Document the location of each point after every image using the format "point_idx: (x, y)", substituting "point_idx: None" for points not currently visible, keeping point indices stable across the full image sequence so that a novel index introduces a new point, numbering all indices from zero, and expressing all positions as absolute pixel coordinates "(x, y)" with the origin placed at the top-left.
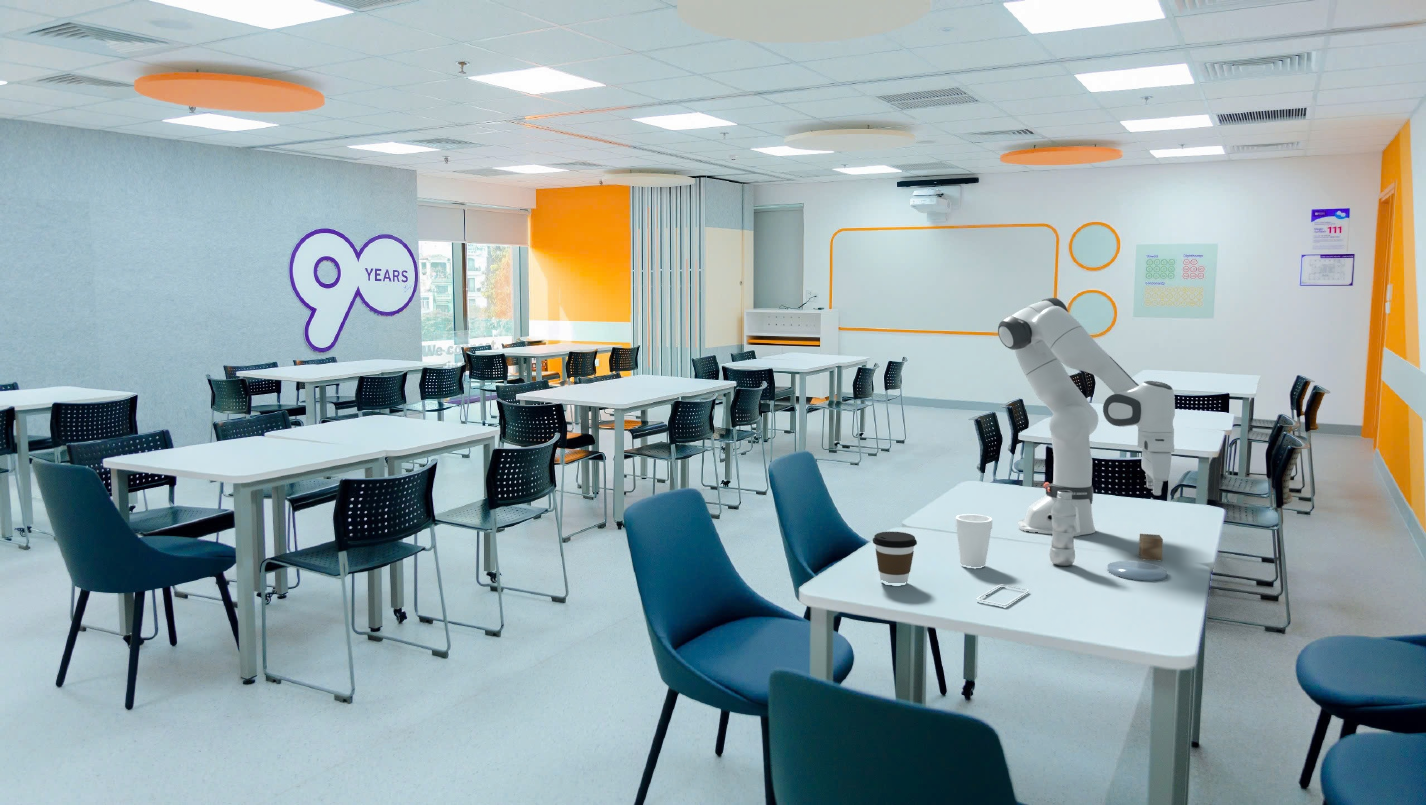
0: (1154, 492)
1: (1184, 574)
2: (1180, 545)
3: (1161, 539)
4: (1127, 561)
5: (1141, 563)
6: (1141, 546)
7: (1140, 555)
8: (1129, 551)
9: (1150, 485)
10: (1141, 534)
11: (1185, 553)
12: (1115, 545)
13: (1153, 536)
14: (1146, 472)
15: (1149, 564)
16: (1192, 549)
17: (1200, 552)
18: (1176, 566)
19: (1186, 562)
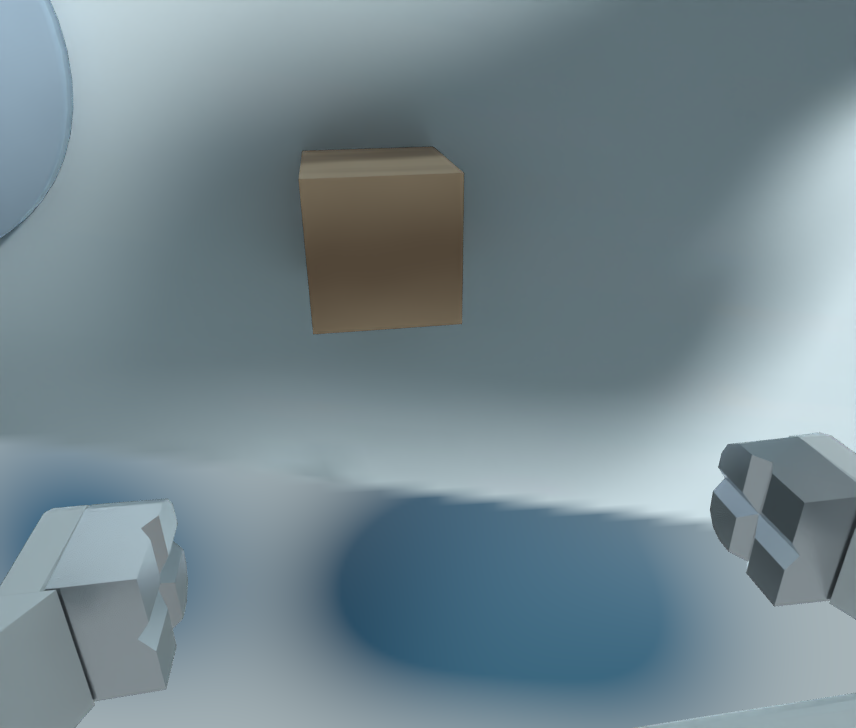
0: (31, 541)
1: (4, 369)
2: (702, 411)
3: (313, 323)
4: (24, 3)
5: (18, 115)
6: (341, 162)
7: (364, 150)
8: (505, 89)
9: (755, 504)
10: (436, 184)
11: (527, 419)
12: (665, 3)
13: (390, 274)
14: (803, 712)
15: (17, 173)
16: (622, 458)
17: (565, 486)
18: (193, 345)
19: (317, 406)
